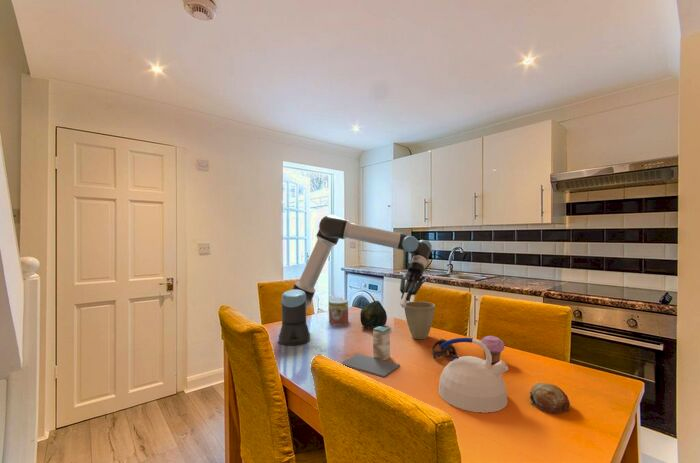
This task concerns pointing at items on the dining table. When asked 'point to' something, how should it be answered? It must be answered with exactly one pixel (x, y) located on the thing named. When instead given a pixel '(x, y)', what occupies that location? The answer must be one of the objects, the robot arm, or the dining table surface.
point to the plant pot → (419, 318)
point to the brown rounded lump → (549, 398)
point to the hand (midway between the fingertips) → (402, 305)
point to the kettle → (473, 381)
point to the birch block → (381, 343)
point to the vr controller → (445, 350)
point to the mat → (371, 365)
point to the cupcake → (493, 347)
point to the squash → (373, 315)
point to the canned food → (338, 311)
